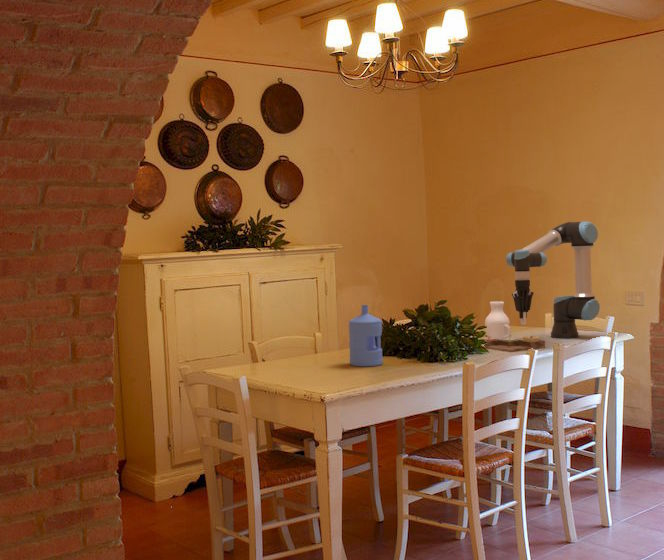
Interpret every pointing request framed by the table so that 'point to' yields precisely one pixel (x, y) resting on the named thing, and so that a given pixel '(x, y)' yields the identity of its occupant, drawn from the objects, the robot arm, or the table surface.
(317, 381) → the table surface
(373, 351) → the water jug
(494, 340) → the tile two
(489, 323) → the vase
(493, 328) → the mug
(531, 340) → the tile three
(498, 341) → the board
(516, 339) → the tile one
